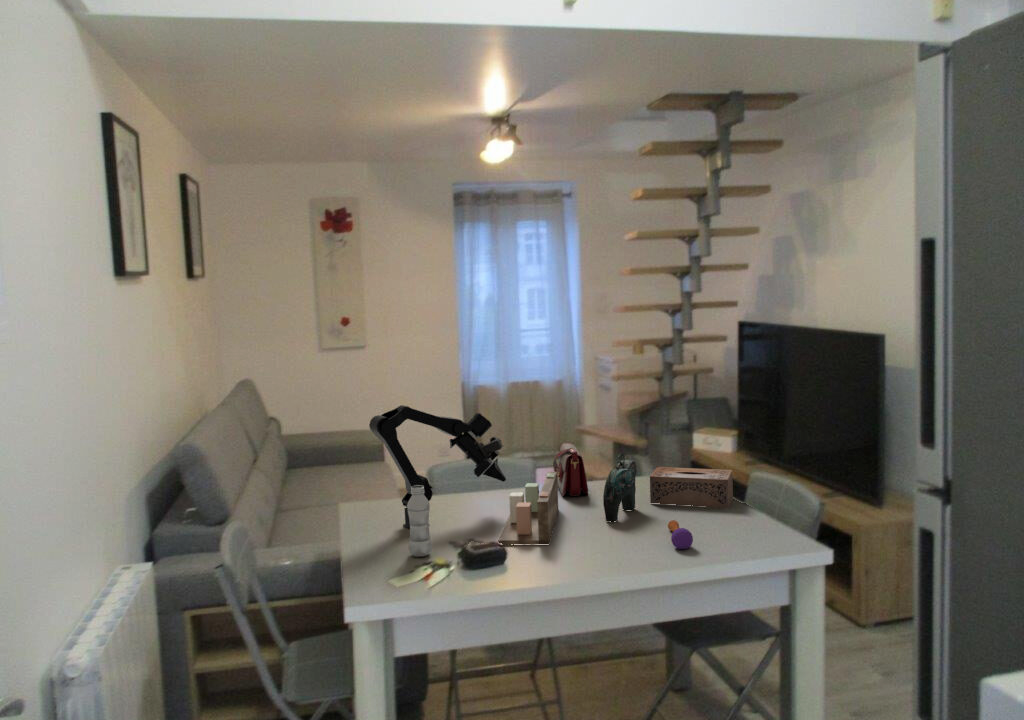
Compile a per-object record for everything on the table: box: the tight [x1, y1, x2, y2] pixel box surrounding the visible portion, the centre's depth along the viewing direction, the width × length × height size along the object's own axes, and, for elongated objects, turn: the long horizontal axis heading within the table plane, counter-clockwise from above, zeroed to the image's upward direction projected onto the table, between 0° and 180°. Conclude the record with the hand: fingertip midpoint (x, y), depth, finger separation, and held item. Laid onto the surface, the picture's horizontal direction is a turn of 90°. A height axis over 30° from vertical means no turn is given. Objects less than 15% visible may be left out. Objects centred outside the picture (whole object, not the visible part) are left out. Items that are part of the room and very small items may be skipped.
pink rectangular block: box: [516, 501, 532, 535], centre depth 240 cm, size 4×5×8 cm
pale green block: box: [524, 482, 540, 512], centre depth 263 cm, size 4×5×8 cm
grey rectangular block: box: [509, 491, 525, 523], centre depth 252 cm, size 4×5×8 cm
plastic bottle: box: [406, 485, 433, 558], centre depth 227 cm, size 6×7×20 cm
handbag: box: [552, 442, 589, 497], centre depth 296 cm, size 28×11×17 cm, turn 2°
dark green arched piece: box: [602, 453, 637, 522], centre depth 259 cm, size 20×6×20 cm, turn 149°
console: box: [497, 471, 559, 546], centre depth 252 cm, size 15×38×14 cm, turn 173°
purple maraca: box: [667, 519, 694, 550], centre depth 232 cm, size 6×6×20 cm
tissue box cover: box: [649, 466, 734, 509], centre depth 274 cm, size 26×14×10 cm, turn 69°
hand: (505, 480), depth 264 cm, fingers closed
